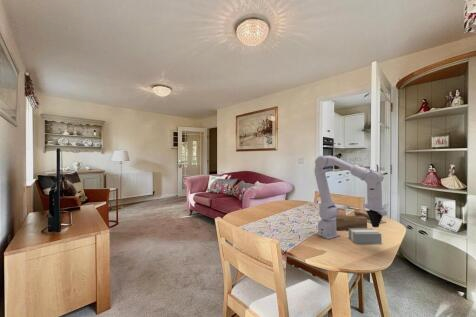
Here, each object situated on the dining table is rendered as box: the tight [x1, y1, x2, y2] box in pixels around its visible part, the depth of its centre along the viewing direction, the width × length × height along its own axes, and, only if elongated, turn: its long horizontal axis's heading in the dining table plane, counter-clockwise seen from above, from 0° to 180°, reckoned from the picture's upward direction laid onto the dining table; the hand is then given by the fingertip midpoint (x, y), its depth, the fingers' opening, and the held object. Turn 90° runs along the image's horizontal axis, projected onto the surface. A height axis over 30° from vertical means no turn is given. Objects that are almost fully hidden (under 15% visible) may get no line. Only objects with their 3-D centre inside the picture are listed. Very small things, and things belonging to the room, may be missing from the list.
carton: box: [348, 227, 383, 245], centre depth 107 cm, size 8×12×5 cm, turn 86°
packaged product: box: [352, 210, 387, 225], centre depth 140 cm, size 18×5×10 cm
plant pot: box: [336, 207, 347, 216], centre depth 142 cm, size 7×7×7 cm
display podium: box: [336, 215, 368, 231], centre depth 124 cm, size 5×18×7 cm, turn 86°
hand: (375, 226), depth 97 cm, fingers closed
